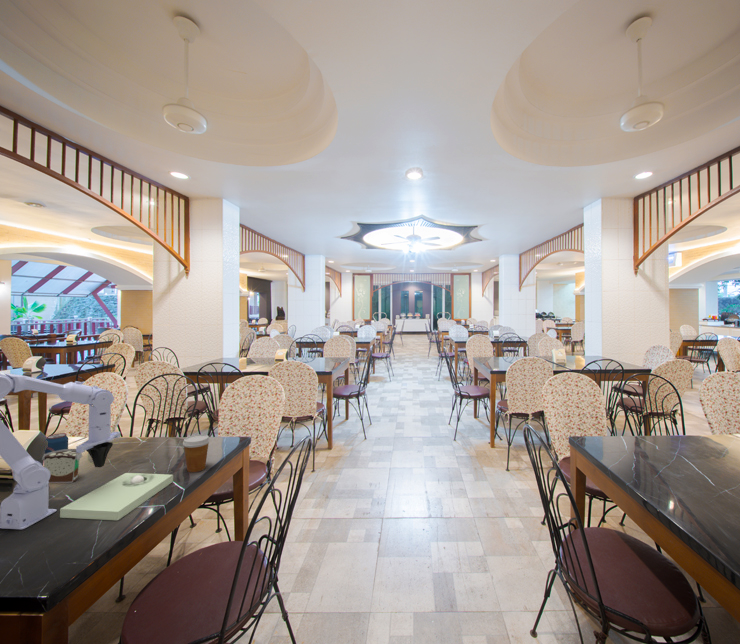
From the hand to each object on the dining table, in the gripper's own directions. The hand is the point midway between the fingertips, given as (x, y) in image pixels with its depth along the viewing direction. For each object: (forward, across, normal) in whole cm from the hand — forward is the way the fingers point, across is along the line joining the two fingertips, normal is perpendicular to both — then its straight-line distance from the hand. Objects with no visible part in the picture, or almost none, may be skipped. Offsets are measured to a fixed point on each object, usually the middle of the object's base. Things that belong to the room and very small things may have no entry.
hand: (99, 466), depth 112 cm
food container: (+10, +10, +22) cm, 26 cm away
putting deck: (+9, -1, -9) cm, 13 cm away
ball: (+7, +6, -9) cm, 13 cm away
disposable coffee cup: (+10, +22, -20) cm, 31 cm away
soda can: (+10, +20, +37) cm, 43 cm away
